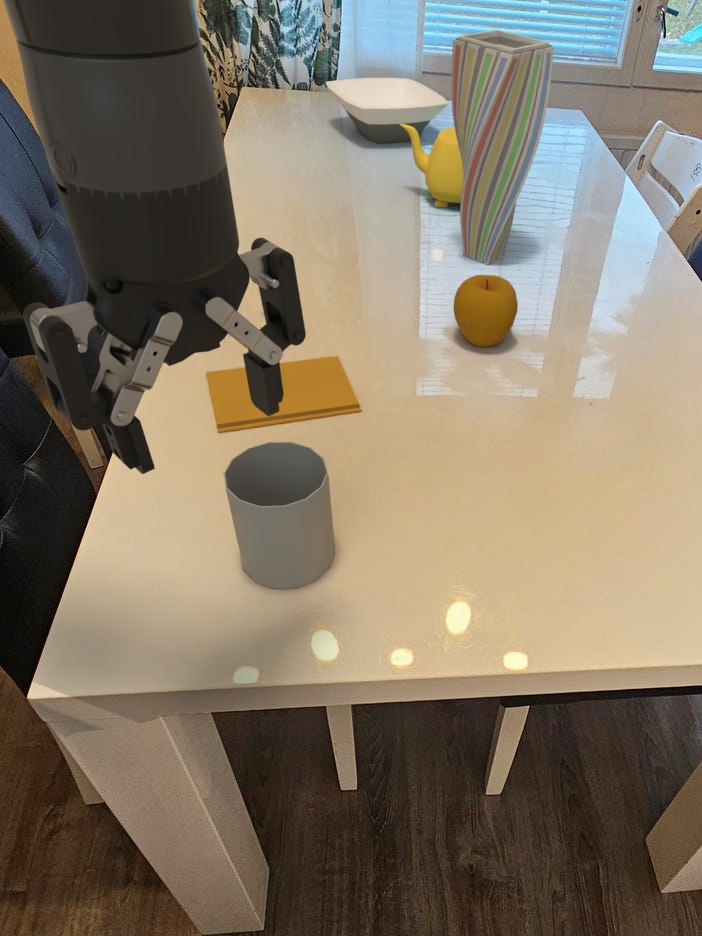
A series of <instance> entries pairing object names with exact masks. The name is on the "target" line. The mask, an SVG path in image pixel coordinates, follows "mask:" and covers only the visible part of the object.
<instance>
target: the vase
mask: <svg viewBox="0 0 702 936" xmlns="http://www.w3.org/2000/svg"><path fill="white" fill-rule="evenodd" d="M554 48H555V47H554V46H552V44H550V42H549V41H545V40H541V39H536V38H533V37H528V36H524V35H521V34H516V33H512V32H508V31H503V30H500V29H491V30H487V31H485V30H484V31H479V32H474V33H468V34H463V35H458V37H455V39H452V47H451V49H452V50H451V51H452V52H451V63H450V64H451V68H450V69H451V71H450V74H451V75H450V89H451V90H450V92H451V93H450V94H451V111H452V112H451V113H452V119H453V125H454V126H453V127H454V128H455V132H456V137H457V142H458V146H459V151H460V155H461V159H462V166H463V189H462V195H461V203H460V207H459V210H460V211H459V213H460V214H459V215H460V216H459V221H460V233H461V242H462V249H463V252H462V253H463V254H462V255H463V256H465V257H466V258H470V259H472V260H475V261H477V262H479V263H482V264H484V265H487V266H489V265H490V264H492V263H495V262H496V260H497V261H498V260H499V259H501V258H504V257H505V256H506V251H507V250H506V249H507V245H508V242H509V239H510V235H511V230H512V227H513V221H514V217H515V211H516V206H517V200H518V198H519V196H520V194H521V192H522V189H523V187H524V185H525V182H526V180H527V177H528V175H529V173H530V171H531V168H532V165H533V163H534V159H535V156H536V153H537V150H538V147H539V144H540V140H541V138H542V137H541V136H542V133H543V130H544V124H545V119H546V114H547V108H548V102H549V95H550V91H551V83H552V81H551V80H552V73H553V72H552V71H553V64H554V63H553V62H554V52H555V51H554V50H555V49H554Z"/></svg>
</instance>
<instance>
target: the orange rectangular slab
mask: <svg viewBox="0 0 702 936" xmlns="http://www.w3.org/2000/svg"><path fill="white" fill-rule="evenodd" d="M279 363H280V370H281V378H282V380H281V381H282V385H283V386H282V387H283V392H284V395H283V399H282V402H280V403H279V412H278V413H275V414H273V415H271V416H267V415H266V414H264V413H263V412H262V411H260V410H259V409H258V408H257V407H255V406H254V404H253V403H252V401H251V398H250V392H249V386H248V381H247V375H246V369H245V366H244V367H236V368H235V367H234V368H228V369H220V370H211V371H206V372H205V374H206V380H207V385H208V390H209V393H210V394H209V395H210V400H211V405H212V411H213V415H214V420H215V425H216V430H217V433H218V434H222V433H228V432H234V431H240V430H241V431H243V430H249V429H256V428H260V427H261V428H262V427H269V426H274V425H281V424H287V423H294V422H301V421H309V420H314V419H321V418H328V417H335V416H336V417H337V416H341V415H348V414H356V413H361V412H362V408H361V406H360V404H359V401H358V399H357V397H356V394H355V392H354V389H353V387H352V385H351V382H350V380H349V378H348V375H347V373H346V371H345V369H344V366H343V365H342V363H341V360H340V357H339V355H335V356H334V355H333V356H325V357H317V358H308V359H302V360H301V359H299V360H292V361H286V362H285V361H284V362H279Z"/></svg>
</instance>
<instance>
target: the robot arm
mask: <svg viewBox="0 0 702 936" xmlns="http://www.w3.org/2000/svg"><path fill="white" fill-rule="evenodd" d="M2 1H3V4H4V8H5V10H6V14H7V17H8V21H9V23H10V26H11V29H12V33H13V35H14V37H15V38H16V41H15V42H16V45H17V49H18V53H19V57H20V62H21V67H22V72H23V73H22V74H23V78H24V84H25V90H26V94H27V99H28V102H29V106H30V110H31V114H32V116H33V120H34V122H35V126H36V128H37V132H38V135H39V138H40V140H41V144H42V147H43V150H44V153H45V157H46V160H47V163H48V167H49V169H50V171H51V172H50V173H51V175H52V178H53V181H54V184H55V188H56V191H57V194H58V196H59V200H60V203H61V205H62V208H63V212H64V215H65V219H66V221H67V224H68V227H69V230H70V234H71V237H72V240H73V243H74V246H75V249H76V252H77V256H78V259H79V261H80V264H81V266H82V270H83V272H84V275H85V279H86V290H85V295H84V299H83V300H84V301H79V302H75V303H71V304H66V305H62V306H56V307H53V308H49V307H48V306H47V305H46V304H44V303H42V302H31V303H29V304H27V305H26V306H25V307H24V309H23V312H22V317H23V320H24V323H25V326H26V329H27V333H28V336H29V339H30V342H31V345H32V348H33V351H34V354H35V357H36V360H37V363H38V366H39V369H40V372H41V375H42V378H43V381H44V384H45V388H46V391H47V393H48V397H49V399H50V402H51V405H52V406H53V407H54V408H55V409H56V410H57V412H60V413H61V414H62V415H63V416H64V417H65V418H66V419H67V420H68V421H69V423H70V425H72V426H73V427H74V428H75V429H76V430H78V431H88V430H90V429H92V428H93V427H95V425H102V428H103V431H104V433H105V435H106V438H107V441H108V444H109V446H110V449H111V452H112V454H113V455H114V456H116V457H117V458H118V459H119V460H120V461H121V462H122V463H123V465H125V466H126V467H127V468H128V469H129V470H130V471H131V470H133V469H136V470H137V471H138V472H139V473H140V474H141V475H145V474H146V473H149V472H151V471H153V470H155V469H156V466H155V464H154V463H155V462H154V459H153V457H152V454H151V451H150V447H149V444H148V441H147V437H146V434H145V431H144V429H143V425H142V421H141V420H140V419H139V417H137V416H136V415H135V414H136V412H137V410H138V408H139V405H140V403H141V400H142V398H143V396H144V393H145V392H146V391H150V390H151V389H153V388H154V385H155V383H156V380H157V378H158V376H159V374H160V372H161V369H162V366H163V364H166V365H167V366H169V367H171V366H174V365H177V364H179V363H182V362H184V361H185V360H186V359H188V358H189V357H191V356H193V355H194V354H198V353H207V352H208V353H209V352H211V351H214V350H217V349H219V348H221V342H222V341H223V340H224V339H226V338H227V336H228V335H229V336H230V337H232V338H233V339H234V340H235V341H236V342H238V343H239V344H240V345H242V346H243V347H245V348H246V349H247V352H245V353H243V354H242V357H243V362H244V367H245V369H246V375H247V381H248V386H249V392H250V398H251V401H252V403H253V404H254V406H255V407H257V408H258V409H259V410H260V411H262V412H263V413H264V414H266V415H267V416H271V415H273V414H275V413H278V412H279V403H280V402H282V399H283V395H284V392H283V387H282V386H283V385H282V381H281V380H282V378H281V370H280V363H281V362H280V361H281V360H282V357H283V352H284V351H285V350H287V349H288V348H289V347H290V346H291V345H292V346H294V347H297V346H300V345H302V343H304V341H305V339H306V335H307V332H306V326H305V320H304V315H303V308H302V302H301V296H300V290H299V283H298V277H297V270H296V265H295V264H296V263H295V259H294V256H293V255H292V254H291V253H290V252H289V251H287V250H285V249H284V248H282V247H280V246H278V245H277V244H275V243H273V242H272V241H270V240H268V239H266V238H265V237H257V238H255V239H254V240H253V242H252V243H251V246H250V250H249V251H246V252H243V253H241V254H239V249H240V238H239V231H238V225H237V218H236V213H235V206H234V199H233V193H232V187H231V180H230V175H229V169H228V162H227V156H226V155H227V154H226V150H225V149H226V148H225V135H224V130H223V127H222V125H221V119H220V113H219V108H218V102H217V97H216V93H215V89H214V86H213V82H212V79H211V75H210V72H209V68H208V64H207V61H206V57H205V54H204V49H203V43H202V40H201V39H200V38H201V34H200V33H201V32H200V26H199V20H198V13H197V7H196V1H195V0H2ZM250 280H251V281H252V282H253V284H256V286H258V290H259V296H260V301H261V305H262V310H263V315H264V320H265V324H264V325H263V326H262V327H260V329H259V328H258V327H257V326H256V325H255V324H253V323H252V322H251V321H249V320H248V319H247V318H246V317H245V316H243V315H242V313H240V312H238V311H239V308H240V306H241V304H242V302H243V299H244V297H245V295H246V291H247V289H248V287H249V285H250ZM97 326H99V328H101V329H102V330H103V331H105V332H106V333H107V335H106V338H105V340H104V343H103V345H102V348H101V351H100V352H99V356H98V357H99V359H98V360H99V363H100V367H99V371H98V373H97V376H96V377H95V381H94V383H93V385H92V388H91V390H90V387H89V383H88V380H87V377H86V372H85V368H84V365H83V362H82V358H81V355H80V354H84V353H86V352H87V351H88V344H89V338H88V337H89V333H90V331H91V330H92V329H94V328H95V327H97ZM132 350H133V351H135V352H136V354H135V357H134V359H133V360H132V356H131V353H132Z"/></svg>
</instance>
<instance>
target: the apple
mask: <svg viewBox="0 0 702 936" xmlns="http://www.w3.org/2000/svg"><path fill="white" fill-rule="evenodd" d="M454 295H455V296H454V298H453V307H452V308H453V314H454V319H455V321H456V324H457V326H458V329H459V331H460V332H461V334H462V335H463V336H464V338H465V340H467V341H468V342H469V343H470V344H472V345H474V346H475V347H480V348H488V347H493V346H495V345H497V344H498V343H500V342H501V341H503V339H504V338H505V337H507V335H508V334H509V332H510V330H511V329H512V327H513V325H514V323H515V320H516V316H517V314H518V309H519V308H518V307H519V304H518V297H517V292H516V290H515V288H514V286H513V285H512V284H511V283H510V281H509V280H507V279H505V278H503V277H502V276H498V275H495V274H494V275H492V274H476V275H473V276H471V277H468V278H467V279H465V280H463V282H462V283H461V284H460V285H459V286H458V288H457V290H456V291H455V294H454Z"/></svg>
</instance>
